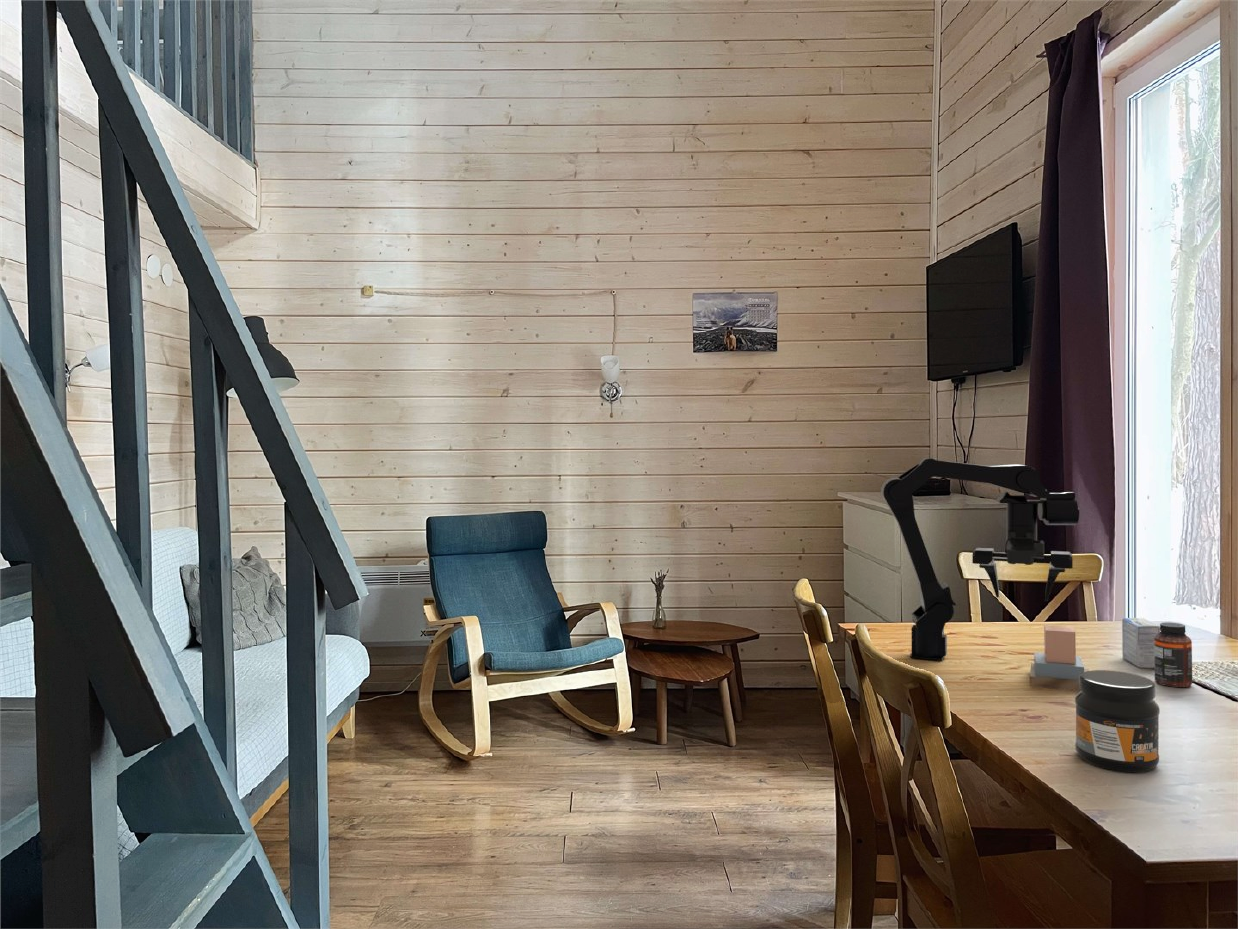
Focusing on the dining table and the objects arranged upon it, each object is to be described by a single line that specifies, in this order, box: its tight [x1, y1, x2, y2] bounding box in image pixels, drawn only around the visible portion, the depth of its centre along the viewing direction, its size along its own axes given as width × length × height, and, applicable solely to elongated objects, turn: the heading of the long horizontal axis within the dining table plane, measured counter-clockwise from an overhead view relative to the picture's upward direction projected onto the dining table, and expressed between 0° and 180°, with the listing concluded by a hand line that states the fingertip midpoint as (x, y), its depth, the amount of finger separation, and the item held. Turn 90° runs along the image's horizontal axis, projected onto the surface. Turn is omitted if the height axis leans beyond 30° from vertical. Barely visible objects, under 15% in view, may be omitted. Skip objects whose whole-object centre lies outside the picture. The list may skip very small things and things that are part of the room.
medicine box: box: [1121, 617, 1161, 669], centre depth 171 cm, size 8×4×9 cm, turn 168°
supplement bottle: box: [1154, 621, 1193, 688], centre depth 157 cm, size 6×6×11 cm
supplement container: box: [1074, 669, 1161, 773], centre depth 121 cm, size 10×10×12 cm
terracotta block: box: [1043, 624, 1077, 664], centre depth 159 cm, size 5×5×6 cm
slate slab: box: [1033, 652, 1085, 680], centre depth 159 cm, size 8×8×2 cm
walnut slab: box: [1029, 662, 1090, 692], centre depth 159 cm, size 10×10×2 cm
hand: (1021, 598), depth 174 cm, fingers open, 9 cm apart
